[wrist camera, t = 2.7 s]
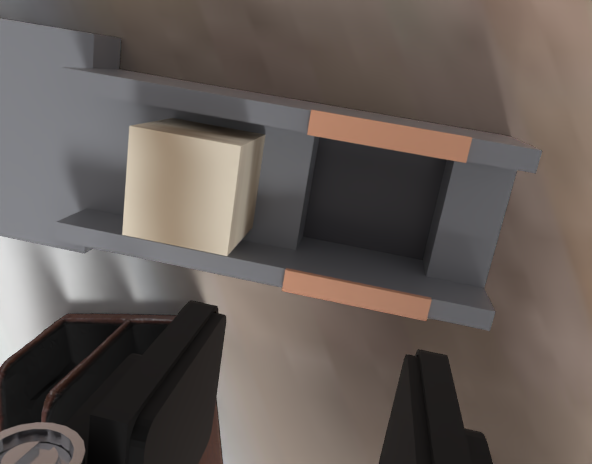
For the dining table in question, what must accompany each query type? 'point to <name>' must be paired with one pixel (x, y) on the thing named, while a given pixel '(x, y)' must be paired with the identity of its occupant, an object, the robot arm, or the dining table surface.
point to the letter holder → (78, 368)
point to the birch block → (191, 184)
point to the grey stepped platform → (272, 183)
